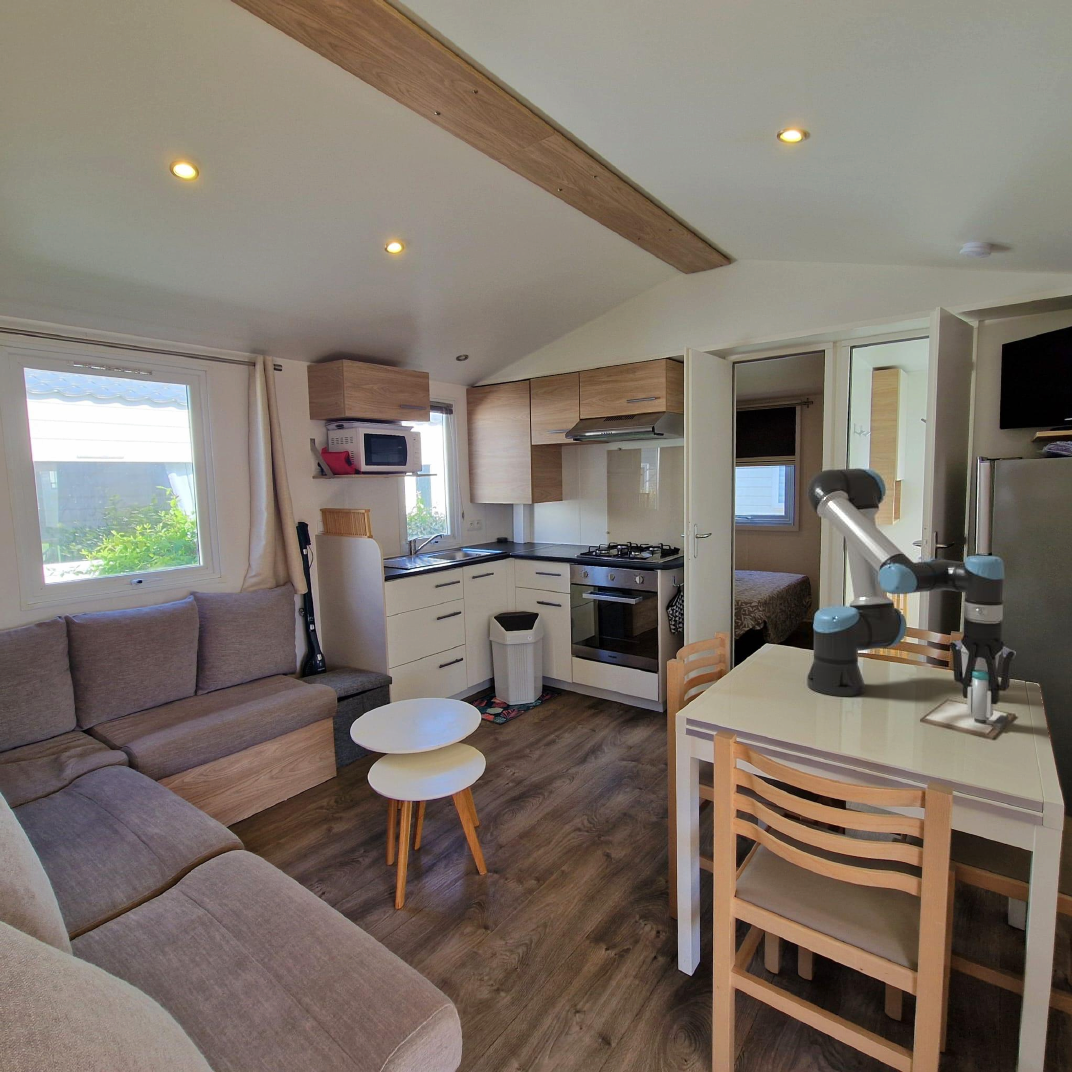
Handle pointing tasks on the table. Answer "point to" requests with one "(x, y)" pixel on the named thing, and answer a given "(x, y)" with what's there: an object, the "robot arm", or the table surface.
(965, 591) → the robot arm
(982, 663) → the coffee cup
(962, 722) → the clipboard
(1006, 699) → the table surface
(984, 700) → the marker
